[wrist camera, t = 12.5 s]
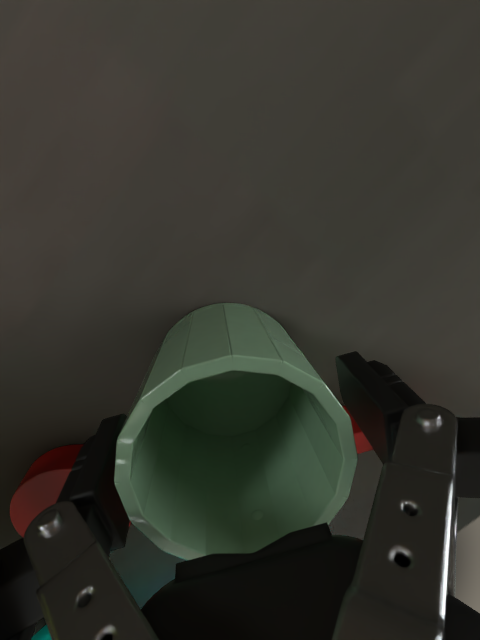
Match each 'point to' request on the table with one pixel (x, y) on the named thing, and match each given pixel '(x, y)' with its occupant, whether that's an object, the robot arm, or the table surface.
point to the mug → (232, 438)
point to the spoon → (54, 469)
